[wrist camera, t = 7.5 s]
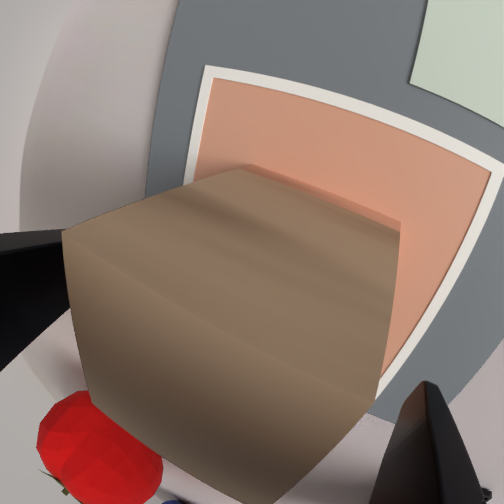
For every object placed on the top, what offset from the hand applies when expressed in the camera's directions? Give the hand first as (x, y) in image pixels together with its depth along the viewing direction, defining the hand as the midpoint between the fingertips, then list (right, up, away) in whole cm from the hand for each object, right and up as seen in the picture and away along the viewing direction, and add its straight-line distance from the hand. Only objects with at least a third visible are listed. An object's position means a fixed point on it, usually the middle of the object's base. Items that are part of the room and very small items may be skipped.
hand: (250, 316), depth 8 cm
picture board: (+4, +6, +1) cm, 7 cm away
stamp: (+2, +1, +3) cm, 4 cm away
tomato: (-11, -14, +17) cm, 25 cm away
